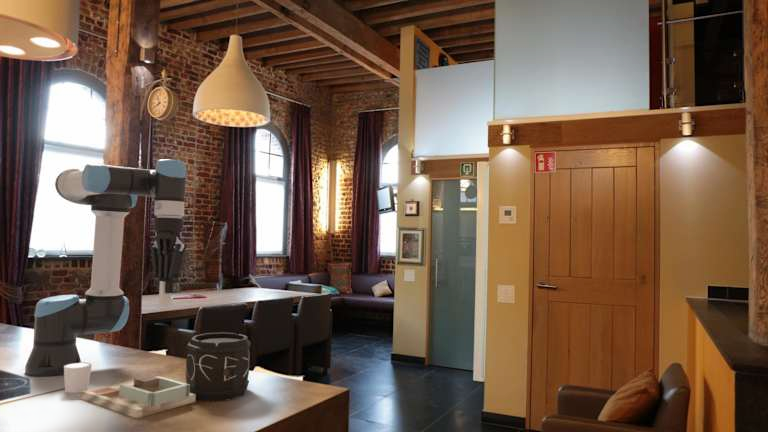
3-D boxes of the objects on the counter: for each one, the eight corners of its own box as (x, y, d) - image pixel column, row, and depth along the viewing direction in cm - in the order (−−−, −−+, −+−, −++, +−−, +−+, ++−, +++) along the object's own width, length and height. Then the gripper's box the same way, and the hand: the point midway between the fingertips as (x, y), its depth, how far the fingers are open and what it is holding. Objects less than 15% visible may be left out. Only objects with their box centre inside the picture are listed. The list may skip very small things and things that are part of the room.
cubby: (119, 396, 142) (119, 384, 142) (158, 386, 152) (158, 376, 152) (150, 406, 135) (151, 394, 135) (189, 395, 144) (190, 384, 144)
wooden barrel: (188, 406, 142) (191, 345, 143) (179, 387, 158) (182, 333, 159) (256, 398, 151) (259, 341, 151) (242, 382, 167) (244, 330, 167)
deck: (81, 398, 145) (81, 391, 145) (139, 385, 159) (140, 378, 159) (137, 418, 132) (137, 410, 132) (195, 401, 146) (195, 394, 146)
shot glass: (96, 388, 155) (97, 363, 155) (75, 394, 148) (76, 368, 149) (77, 385, 157) (79, 361, 157) (56, 391, 151) (57, 366, 151)
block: (133, 393, 144) (134, 378, 145) (148, 390, 148) (149, 375, 148) (143, 397, 142) (144, 381, 142) (158, 393, 146) (159, 378, 146)
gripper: (141, 216, 147) (137, 304, 145) (172, 216, 140) (168, 309, 138) (165, 218, 153) (162, 302, 152) (196, 218, 146) (192, 306, 145)
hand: (164, 305), depth 145 cm, fingers closed
